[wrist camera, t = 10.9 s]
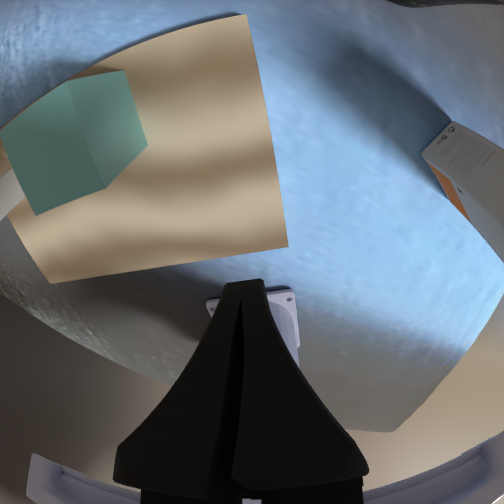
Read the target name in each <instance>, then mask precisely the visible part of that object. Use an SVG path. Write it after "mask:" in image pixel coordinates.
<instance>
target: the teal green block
mask: <svg viewBox="0 0 504 504" xmlns="http://www.w3.org/2000/svg"><path fill="white" fill-rule="evenodd" d="M0 137H1V140H2V143H3V145H4V148H5V151H6V153H7V156H8V158H9V161H10V163H11V166H12V168H13V170H14V173H15V175H16V177H17V179H18V182H19V184H20V186H21V188H22V190H23V192H24V194H25V196H26V198H27V200H28V202H29V204H30V206H31V208H32V210H33V212H34V214H35V216H37V215H40V214H42V213H44V212H47V211H49V210H51V209H54V208H56V207H58V206H61V205H63V204H66V203H68V202H71V201H73V200H76V199H79V198H81V197H84V196H87V195H89V194H92V193H95V192H98V191H100V190H103V189H106V188H107V187H108V186H109V185H110V184H111V183H112V181H113V180H114V179H115V178H116V177H117V176H118V175H119V174H120V173H121V172H122V171H123V170H124V169H125V168H126V167H127V166H128V165H129V164H130V163H131V162H132V161H133V160H134V159H135V158H136V157H137V156H138V155H139V154H140V153H141V152H142V151H143V150H144V149H145V148H146V147H147V146H148V143H147V140H146V137H145V134H144V131H143V128H142V125H141V122H140V119H139V116H138V113H137V110H136V107H135V104H134V100H133V97H132V94H131V91H130V87H129V84H128V81H127V77H126V74H125V70H123V71H116V72H109V73H103V74H98V75H93V76H88V77H83V78H78V79H74V80H70V81H66V82H64V83H63V84H61V85H60V86H58V87H57V88H55V89H54V90H52V91H51V92H49V93H48V94H46V95H45V96H43V97H42V98H41V99H39V100H38V101H36V102H35V103H34V104H32V105H31V106H30V107H28V108H27V109H26V110H25V111H23V112H22V113H21V114H19V115H18V116H17V117H16V118H15V119H13V120H12V121H11V122H10V123H9V124H7V125H6V126H5V127H4V128H3V129H2V130H1V131H0Z"/></svg>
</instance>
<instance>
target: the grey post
mask: <svg viewBox="0 0 504 504" xmlns="http://www.w3.org/2000/svg"><path fill="white" fill-rule="evenodd" d="M24 197H25V194H24V192H23V190H22V188H21V186H20V184H19V182H18V179H17V177H16V175H15V173H14V170H13V168H12V169H11V170H9V171H8V172H6V173H5V174H4V175H2V176H1V177H0V221H1V220H2V219H3V218H4V217H5V216H6V215H7V214H8V213H9V212H10V211H11V210H12V209H13V208H14V207H15V206H16V205H17V204H18V203H19V202H20V201H21V200H22V199H23V198H24Z"/></svg>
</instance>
